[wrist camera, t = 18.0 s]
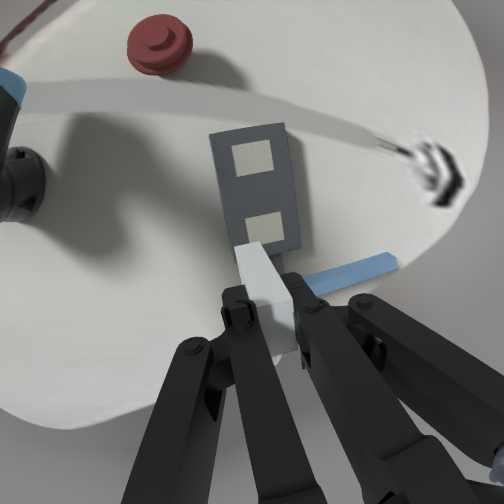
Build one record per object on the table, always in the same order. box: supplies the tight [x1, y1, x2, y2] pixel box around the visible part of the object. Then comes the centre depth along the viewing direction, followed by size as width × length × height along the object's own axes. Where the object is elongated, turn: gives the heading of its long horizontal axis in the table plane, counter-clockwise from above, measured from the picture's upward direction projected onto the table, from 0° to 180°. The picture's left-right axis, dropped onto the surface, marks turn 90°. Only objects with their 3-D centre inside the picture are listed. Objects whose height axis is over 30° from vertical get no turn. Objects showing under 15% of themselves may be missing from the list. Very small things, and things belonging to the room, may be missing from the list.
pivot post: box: [268, 253, 284, 275], centre depth 52 cm, size 6×6×9 cm
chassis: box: [209, 122, 301, 263], centre depth 47 cm, size 12×22×5 cm, turn 10°
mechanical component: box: [127, 14, 193, 75], centre depth 33 cm, size 12×10×10 cm
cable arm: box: [303, 252, 396, 296], centre depth 47 cm, size 24×4×3 cm, turn 102°
